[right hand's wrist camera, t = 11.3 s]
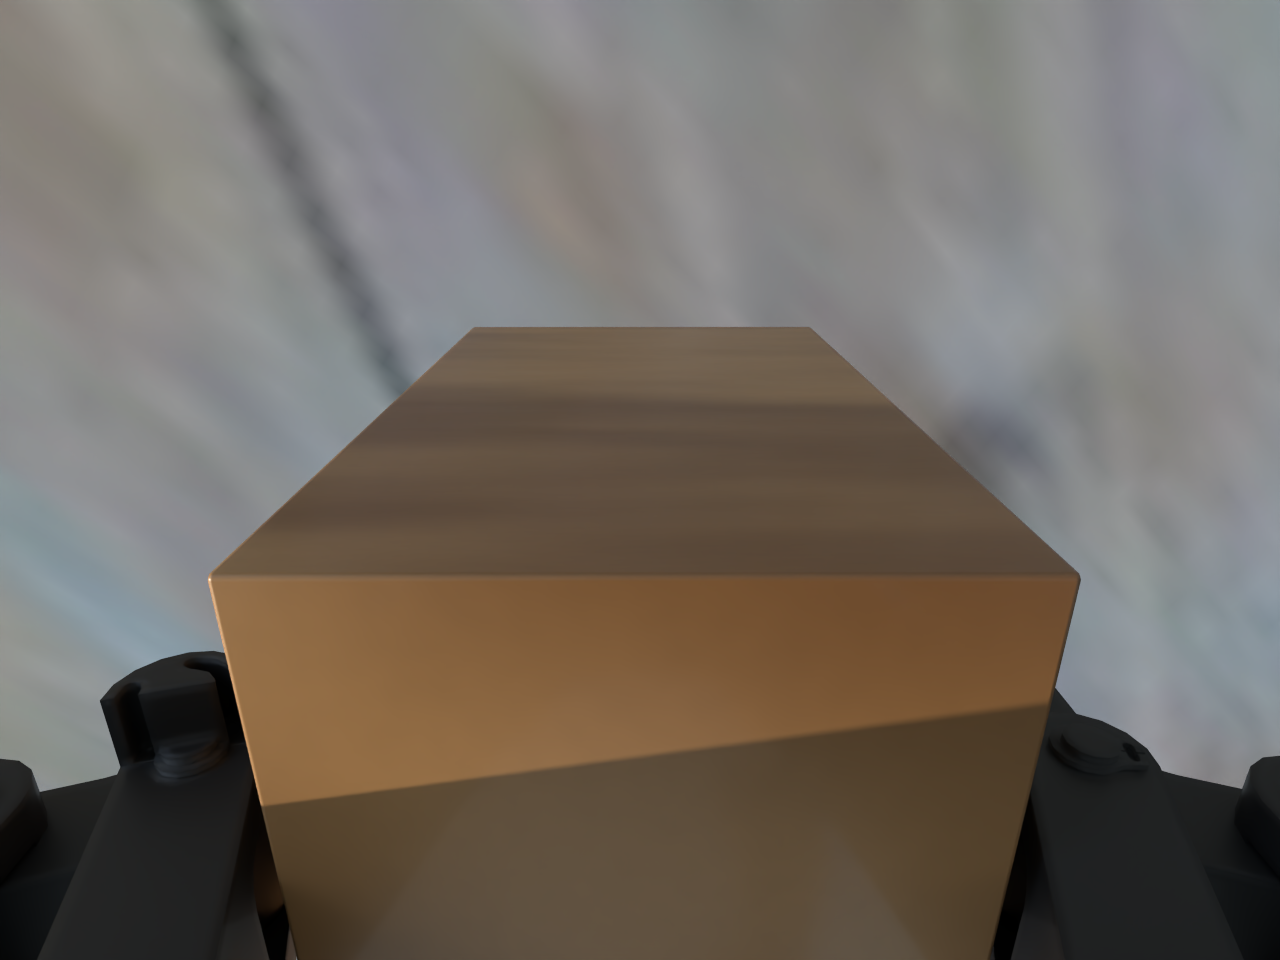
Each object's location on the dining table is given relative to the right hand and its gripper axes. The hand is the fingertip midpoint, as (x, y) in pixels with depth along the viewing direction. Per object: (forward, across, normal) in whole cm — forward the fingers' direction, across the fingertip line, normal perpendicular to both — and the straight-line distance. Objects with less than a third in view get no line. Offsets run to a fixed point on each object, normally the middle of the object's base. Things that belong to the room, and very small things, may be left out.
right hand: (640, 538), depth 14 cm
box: (+1, 0, -7) cm, 7 cm away
